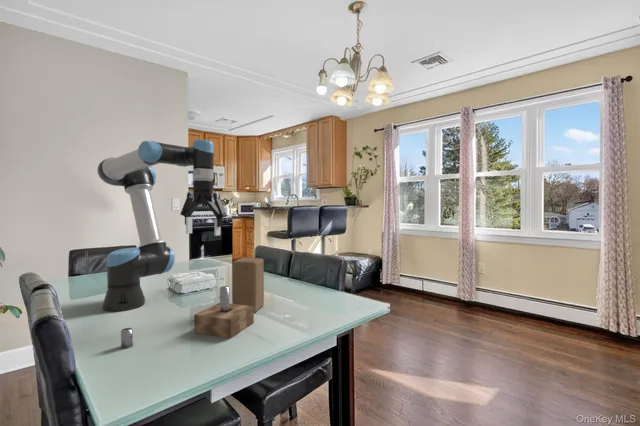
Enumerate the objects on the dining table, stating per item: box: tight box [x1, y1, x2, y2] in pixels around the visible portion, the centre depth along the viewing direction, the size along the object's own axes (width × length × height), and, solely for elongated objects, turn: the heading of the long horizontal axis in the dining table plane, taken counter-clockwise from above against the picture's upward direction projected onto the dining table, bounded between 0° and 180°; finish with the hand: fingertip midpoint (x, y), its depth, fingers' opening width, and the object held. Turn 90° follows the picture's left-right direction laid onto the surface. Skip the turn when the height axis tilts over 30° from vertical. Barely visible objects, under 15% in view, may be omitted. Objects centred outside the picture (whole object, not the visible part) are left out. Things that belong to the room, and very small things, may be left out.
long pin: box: [219, 285, 230, 313], centre depth 112 cm, size 3×3×14 cm
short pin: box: [120, 327, 134, 350], centre depth 98 cm, size 3×3×5 cm
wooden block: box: [231, 257, 265, 313], centre depth 133 cm, size 10×10×20 cm
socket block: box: [193, 302, 255, 339], centre depth 113 cm, size 14×14×6 cm
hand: (203, 234), depth 130 cm, fingers open, 13 cm apart
